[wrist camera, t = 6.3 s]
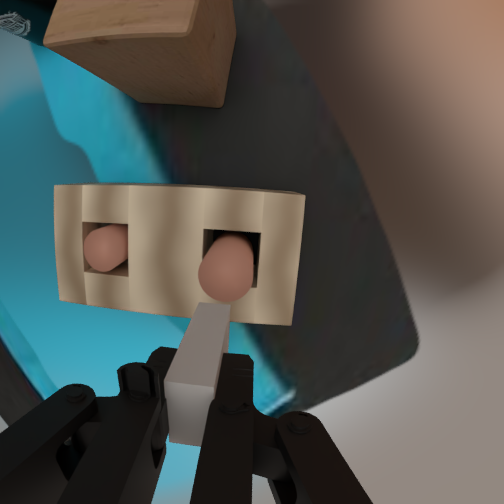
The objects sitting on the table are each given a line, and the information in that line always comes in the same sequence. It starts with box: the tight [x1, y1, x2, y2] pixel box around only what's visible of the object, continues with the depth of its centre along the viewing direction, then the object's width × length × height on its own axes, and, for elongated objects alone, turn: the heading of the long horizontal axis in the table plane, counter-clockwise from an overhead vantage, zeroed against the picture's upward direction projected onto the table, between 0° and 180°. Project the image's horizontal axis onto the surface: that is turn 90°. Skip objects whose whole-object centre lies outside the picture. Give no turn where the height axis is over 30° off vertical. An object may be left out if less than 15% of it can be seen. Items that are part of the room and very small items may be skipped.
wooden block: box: [43, 0, 237, 108], centre depth 22 cm, size 10×10×20 cm
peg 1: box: [83, 223, 128, 272], centre depth 32 cm, size 4×4×8 cm
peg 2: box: [198, 231, 253, 302], centre depth 27 cm, size 4×4×8 cm
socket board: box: [54, 183, 305, 325], centre depth 32 cm, size 24×12×8 cm, turn 86°
